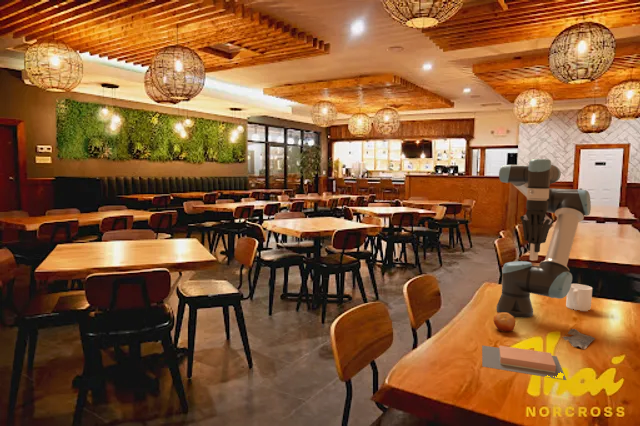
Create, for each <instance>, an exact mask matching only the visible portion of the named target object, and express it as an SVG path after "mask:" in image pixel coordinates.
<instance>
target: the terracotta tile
mask: <svg viewBox="0 0 640 426" xmlns="http://www.w3.org/2000/svg"><path fill="white" fill-rule="evenodd" d="M498 348H499V357H500V364H502V365H509V366H515V367H521V368H528V369H534V370H540V371H547V372H553V373H555V369H556V365H555V362H554V360H553V357H552V356H553V354H552V353H551V352H546V351H538V350H531V349H525V348H519V347H512V346H506V345H499V346H498Z"/></svg>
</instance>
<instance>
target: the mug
mask: <svg viewBox="0 0 640 426" xmlns="http://www.w3.org/2000/svg"><path fill="white" fill-rule="evenodd" d="M592 297H593V287H592V286H589V285H587V284H579V283H571V288H570V290H569V292H568V294H567V295H566V301H565V306H566V308H567V309H570V310H573V309H574V310H573V311H577V310H580V311H579V312H589V311H588V310H590V309H592V308H591V307H592V300H593V299H592ZM590 311H591V310H590Z"/></svg>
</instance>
